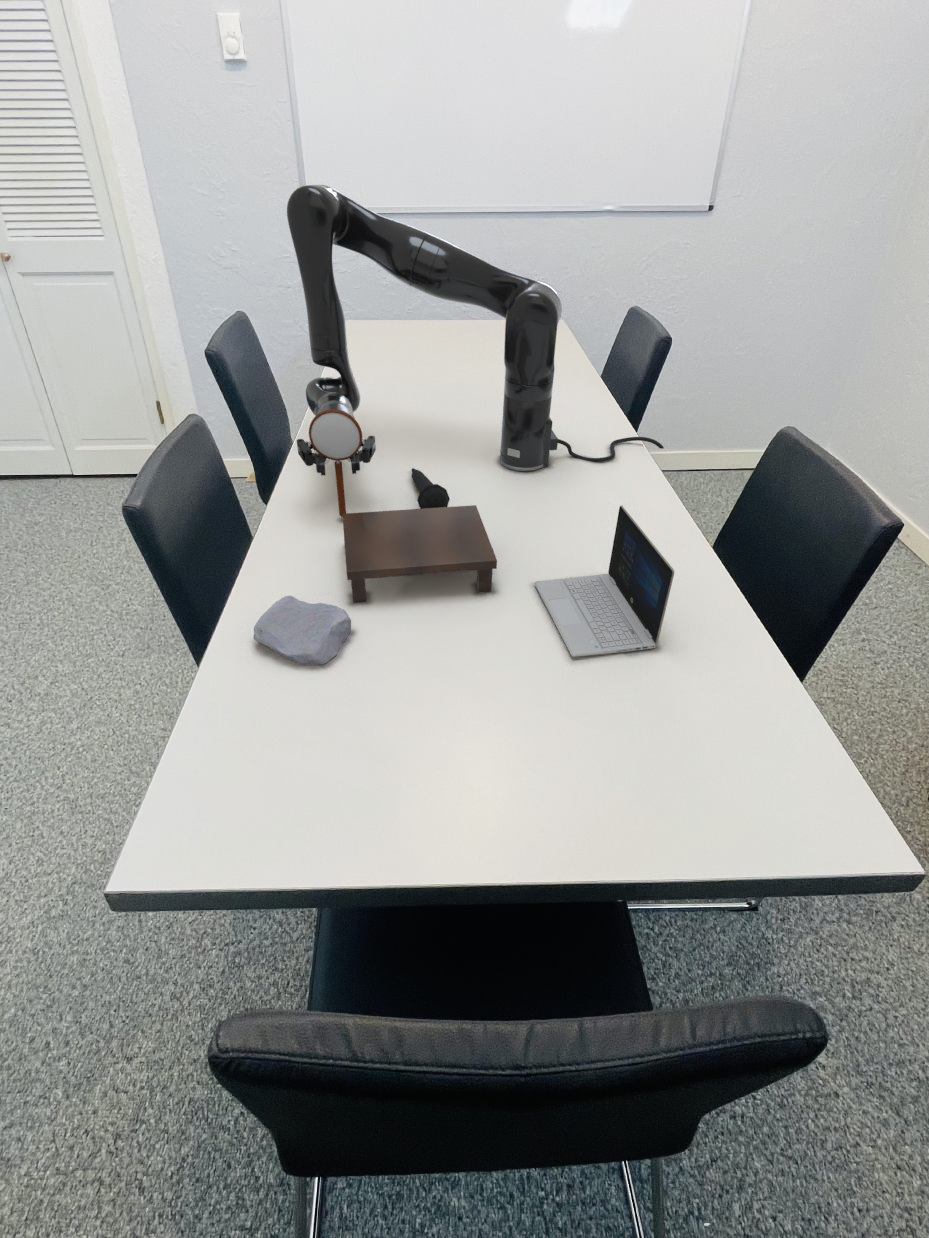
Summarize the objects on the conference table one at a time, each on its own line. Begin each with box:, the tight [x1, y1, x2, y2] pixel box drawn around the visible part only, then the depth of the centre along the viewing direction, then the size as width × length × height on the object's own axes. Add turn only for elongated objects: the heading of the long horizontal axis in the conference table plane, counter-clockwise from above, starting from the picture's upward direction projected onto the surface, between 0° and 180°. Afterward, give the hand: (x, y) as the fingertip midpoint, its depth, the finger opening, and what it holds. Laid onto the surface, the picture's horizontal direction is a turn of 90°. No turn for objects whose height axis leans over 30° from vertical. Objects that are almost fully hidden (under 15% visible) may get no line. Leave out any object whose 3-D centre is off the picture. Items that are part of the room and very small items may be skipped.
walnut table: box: [342, 504, 498, 604], centre depth 112 cm, size 22×17×6 cm
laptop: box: [533, 505, 675, 658], centre depth 101 cm, size 18×12×13 cm
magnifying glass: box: [308, 409, 363, 521], centre depth 119 cm, size 9×2×20 cm, turn 89°
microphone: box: [411, 467, 450, 509], centre depth 132 cm, size 6×6×20 cm
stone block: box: [252, 595, 352, 666], centre depth 98 cm, size 12×5×10 cm
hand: (338, 469), depth 116 cm, fingers closed on magnifying glass, 4 cm apart
